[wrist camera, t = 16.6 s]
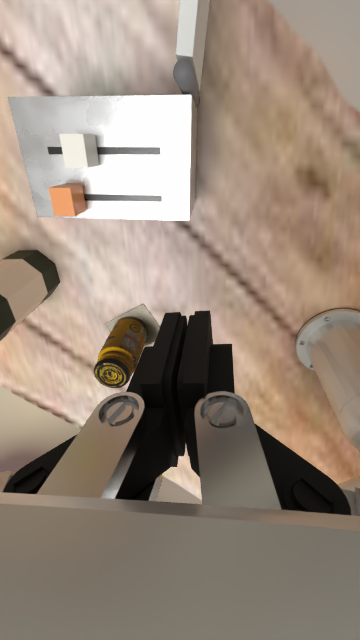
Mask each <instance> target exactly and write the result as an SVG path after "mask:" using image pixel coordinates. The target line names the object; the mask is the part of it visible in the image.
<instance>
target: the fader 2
mask: <svg viewBox="0 0 360 640" xmlns="http://www.w3.org/2000/svg"><path fill="white" fill-rule="evenodd" d="M49 193H50V197H51V202H52V207H53V211H54V216H77V215H79V214H81V213H83V212H85V211H86V204H85V198H84V192H83V185H82V184H61V185H57V186H53V187H49Z"/></svg>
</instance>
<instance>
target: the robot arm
mask: <svg viewBox="0 0 360 640" xmlns="http://www.w3.org/2000/svg"><path fill="white" fill-rule="evenodd" d="M295 349H296V353H297V356H298V358H299V360H300V361H301V362H302V363H303V364H304V365H305V366H306V367H307V368H309V369H311V370H313V371H315V372H316V374H317V376H318V378H319V381H320V383H321V385H322V387H323V389H324V391H325V394H326V396H327V398H328V400H329V402H330V404H331V407H332V409H333V411H334V413H335V415H336V418H337V420H338V422H339V424H340V426H341V428H342V431H343V433H344V435H345V436H346V438H347V439H348V441H349V442H350V443H351V444H352V445H353V446H354V447H355V448H356V449H357V450H358V451H359V452H360V312H359V311H357V310H352V309H334V310H330V311H326V312H324V313H321V314H319V315H317V316H315V317H314V318H312V319H311V320H309V321H308V322H307V323H306V324H305V325H304V326H303V327H302V328H301V330H300V331H299V333H298V335H297V338H296V342H295ZM185 445H187V451H188V456H189V457H190V463H191V468H192V469H193V470H194V472H195V473H196V474H197V475H198V476H199V477H200V482H201V493H202V505H201V504H186V503H171V502H155V501H156V498H157V495H158V492H159V489H160V486H161V483H162V473H164V472H165V471H166V470H168V469H169V468H170V467H177V463H178V456H184V453H185ZM0 640H360V477H357V478H354V479H351V480H349V481H346V482H343V483H340V484H338V485H337V484H336V483H335V482H334V481H333V480H332V479H330V478H329V477H328V476H327V475H325V474H324V473H322V472H321V471H320V470H318V469H317V468H315V467H314V466H313V465H311V464H310V463H309V462H307V461H306V460H304V459H303V458H302V457H300V456H299V455H297V454H296V453H295V452H293V451H292V450H291V449H289V448H288V447H286V446H285V445H284V444H282V443H281V442H279V441H278V440H277V439H275V438H274V437H273V436H271V435H270V434H268V433H267V432H266V431H264V430H263V429H261V428H260V427H259V426H257V425H256V424H255V423H254V421H253V417H252V414H251V411H250V408H249V406H248V404H247V402H246V401H245V400H244V399H243V398H242V397H240V396H238V395H236V394H235V392H234V375H233V357H232V344H213V339H212V327H211V315H210V311H195V315H190V316H189V321H188V326H187V318H186V316H181V313H180V312H175V313H165V315H164V318H163V321H162V324H161V326H160V329H159V332H158V335H157V338H156V340H155V343H154V346H152V347H145V348H144V350H143V352H142V354H141V357H140V359H139V362H138V364H137V367H136V369H135V372H134V374H133V377H132V379H131V381H130V384H129V386H128V389H127V391H126V392H120V393H116V394H113V395H111V396H109V397H107V398H106V399H104V400H103V401H101V402H100V404H99V405H98V406H97V407H96V408H95V410H94V411H93V413H92V414H91V416H90V417H89V419H88V420H87V421H86V423H85V424H84V426H83V427H82V429H81V430H80V432H79V433H78V434H77V435H75V436H74V437H72V438H70V439H69V440H67V441H65V442H64V443H62V444H60V445H59V446H57V447H55V448H54V449H52V450H50V451H49V452H47V453H46V454H44V455H42V456H40V457H39V458H37V459H35V460H34V461H32V462H30V463H29V464H27V465H25V466H24V467H23V468H21V469H20V470H19V471H17V472H16V473H15V474H13V472H12V471H8V472H3V473H0Z"/></svg>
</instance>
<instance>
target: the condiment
mask: <svg viewBox="0 0 360 640" xmlns="http://www.w3.org/2000/svg"><path fill="white" fill-rule="evenodd" d="M138 317H139V318H138ZM141 318H142V319H141ZM105 325H106V326H107V327H108V329H109V330H110V331H111V333H110V335H109V337H108V338H107V340H106V342H105V344H104V346H103V348H102V349H101V351H100V353H99V356H98V361H97V364H96V366H95V368H94V374H95V377H96V379H97V380H98V381H99V382H100V383H101V384H103V385H105V386H107V387H111V388H120V387H122V386H124V385H125V384H126V383H128V381H129V379H130V376H131V375H132V373H133V372H134V371H135V369H136V367H137V364H138V361H139V358H140V356H141V353H142V350H143V347H144V346H145V345H148V344H151V343H152V342H155V340H156V338H157V335H158V332H159V329H160V327H159V325H158V324H157V322H156V321H155V319H154V318H153V317H152V315H151V314H150V313H149V311H148V310H147V309H146V307H145V306H144V304H142V305H140V306H138V307H136V308H134V309H132V310H131V311H129V312H127V313H125V314H123V315H121V316H119V317H117V318H115V319H113V320H111V321H109V322H107V323H105Z"/></svg>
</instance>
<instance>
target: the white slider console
mask: <svg viewBox="0 0 360 640" xmlns="http://www.w3.org/2000/svg"><path fill="white" fill-rule="evenodd" d="M8 100H9V104H10V108H11V112H12V116H13V120H14V124H15V129H16V133H17V137H18V141H19V145H20V149H21V153H22V157H23V161H24V165H25V169H26V173H27V177H28V181H29V185H30V189H31V194H32V198H33V202H34V206H35V210H36V214H37V217H60V218H103V219H146V220H190V216H191V213H192V210H193V207H194V204H195V194H196V158H197V121H198V110H197V108H196V105H195V102H194V100H193V97H192V95H130V96H52V97H8ZM59 134H89V135H95V138H96V146H97V153H98V161H99V166H95V167H88V168H81V167H65V163H64V158H63V152H62V147H61V141H60V136H59ZM61 184H82V185H83V192H84V198H85V204H86V211H85V212H83V213H81V214H79V215H77V216H54V211H53V207H52V202H51V197H50V193H49V187H53V186H57V185H61Z"/></svg>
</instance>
